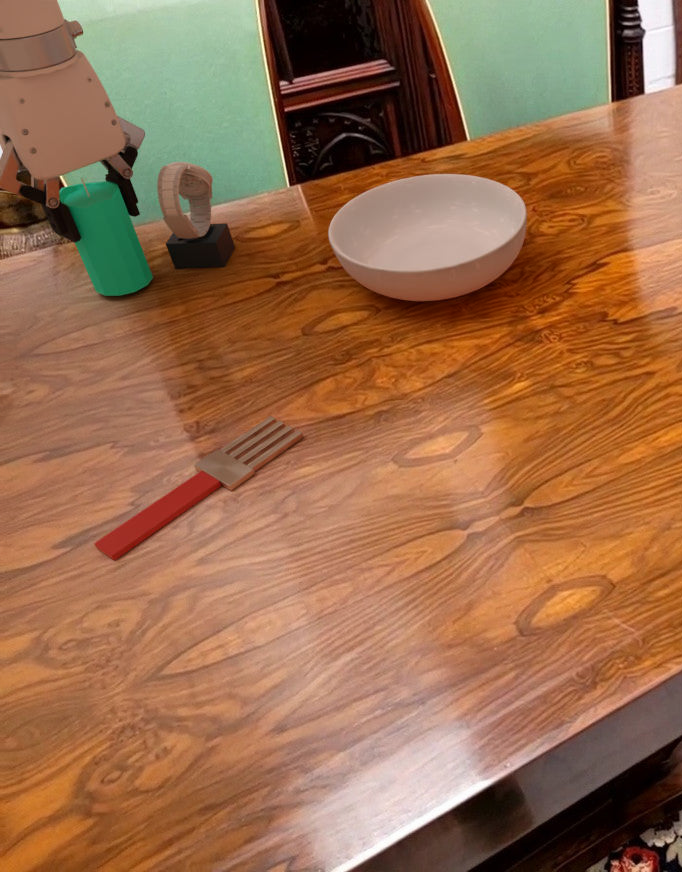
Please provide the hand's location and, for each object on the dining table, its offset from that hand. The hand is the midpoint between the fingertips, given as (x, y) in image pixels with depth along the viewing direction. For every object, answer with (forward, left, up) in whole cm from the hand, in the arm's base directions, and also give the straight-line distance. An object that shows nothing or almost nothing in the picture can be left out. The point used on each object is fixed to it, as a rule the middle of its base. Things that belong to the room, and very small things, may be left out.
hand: (99, 223), depth 98 cm
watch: (+2, +9, -8) cm, 12 cm away
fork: (+34, -15, -8) cm, 38 cm away
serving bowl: (+27, +21, -8) cm, 35 cm away
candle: (0, 0, -7) cm, 7 cm away
